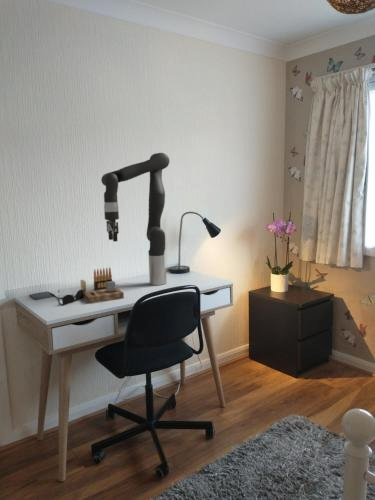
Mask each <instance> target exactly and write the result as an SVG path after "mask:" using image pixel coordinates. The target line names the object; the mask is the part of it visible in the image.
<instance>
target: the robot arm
mask: <svg viewBox="0 0 375 500" xmlns="http://www.w3.org/2000/svg"><path fill="white" fill-rule="evenodd" d="M169 165H170V158H169V156H168V154H166V153H165V152H156V153H153V154H151V156H150V157H149V159H147V160H144V161H140V162H138V163H134V164H133V163H132V164H130V165H127V166H125V167H122V168H119V169H117V170H114V171H110V172H109V171H108V172H107V173H104V174H103V175H102V177H101V180H100V181H101V183H102V185H103V186H105V192H104V194H103V199H104V201H103V202H104V204H103V210H104V219H105V220H106V232H107V233H108V234H107V235H108V241H113V242H118V234H119V222H118V221H117V220H119V218H120V215H119V203H118V189H119V183H122V182H127V181H129V180H132V179H135V178H137V177H139V176H142V175H145V174H147V173H149V187H148V189H149V190H148V191H149V192H148V220H147V228H146V239H147V240H148V241H149V249H148V253H147V254H148V274H149V280H148V281H149V285H151V286H162V285H165V284H168V283H167V267H166V266H165V265H166V264H165V262H166V260H165V259H166V258H165V250H166V235H165V231H164V229H162V227H161V221H162V220H161V219H162V216H163V215H162V214H163V212H164V208H165V203H166V191H165V187H164V183H163V179H162V178H163V177H162V176H163V175H162V174H163V170H165V169H166V168H168V167H169ZM116 221H117V222H116Z"/></svg>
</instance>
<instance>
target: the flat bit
mask: <svg viewBox="0 0 375 500" xmlns="http://www.w3.org/2000/svg"><path fill="white" fill-rule="evenodd" d="M79 281H80V290H83V291H84V292H87V284H86V281H85V280H84V279H80V280H79Z"/></svg>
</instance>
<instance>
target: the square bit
mask: <svg viewBox="0 0 375 500" xmlns="http://www.w3.org/2000/svg"><path fill="white" fill-rule="evenodd" d="M115 288H116V282H115V281H114V280H112V281H109V282H106V293H113V292H116V290H115Z"/></svg>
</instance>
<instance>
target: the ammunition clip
mask: <svg viewBox="0 0 375 500" xmlns="http://www.w3.org/2000/svg"><path fill="white" fill-rule="evenodd" d="M112 275H113V274H112V270H111V267H106V268H104V267H103V269H102V268H97V270H96V269H94V270H93V291H96V290H103V289H106V282H109V281H113V277H112Z"/></svg>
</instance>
